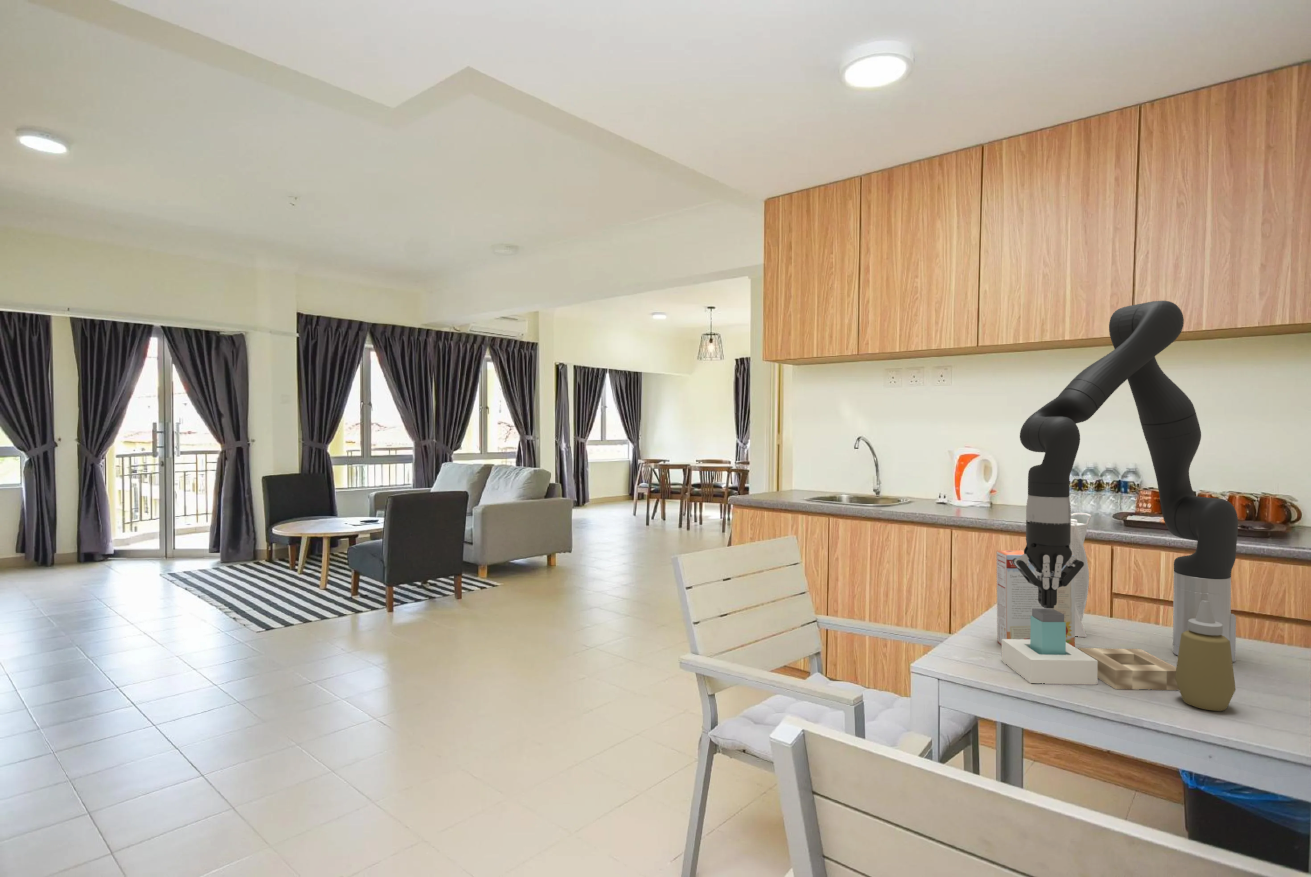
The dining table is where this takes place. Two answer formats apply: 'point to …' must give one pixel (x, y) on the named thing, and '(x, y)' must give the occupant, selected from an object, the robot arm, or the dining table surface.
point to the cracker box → (1026, 600)
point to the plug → (1048, 632)
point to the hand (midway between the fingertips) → (1047, 607)
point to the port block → (1049, 664)
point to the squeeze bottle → (1205, 663)
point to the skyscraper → (1083, 575)
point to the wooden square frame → (1132, 669)
